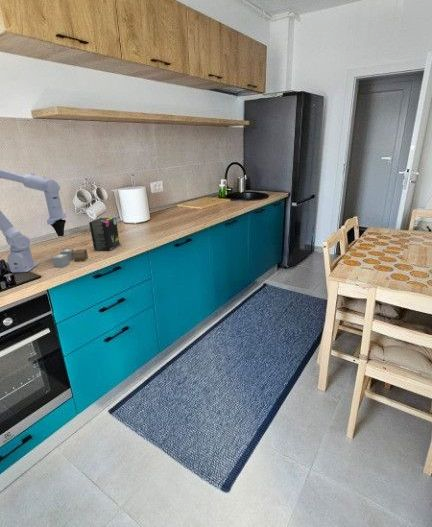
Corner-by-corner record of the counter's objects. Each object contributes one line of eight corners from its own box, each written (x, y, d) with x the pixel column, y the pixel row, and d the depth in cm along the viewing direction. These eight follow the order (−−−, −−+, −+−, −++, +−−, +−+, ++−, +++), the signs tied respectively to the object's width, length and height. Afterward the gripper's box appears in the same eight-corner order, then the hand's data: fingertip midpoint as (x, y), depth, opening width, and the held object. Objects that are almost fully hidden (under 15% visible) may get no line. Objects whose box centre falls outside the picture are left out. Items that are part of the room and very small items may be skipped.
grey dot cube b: (63, 267, 135) (60, 257, 134) (54, 267, 136) (51, 257, 135) (69, 264, 139) (67, 254, 138) (61, 263, 141) (59, 253, 139)
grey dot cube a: (72, 260, 144) (70, 251, 142) (62, 261, 143) (60, 252, 141) (75, 257, 148) (73, 248, 146) (65, 258, 147) (62, 249, 146)
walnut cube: (84, 261, 142) (82, 252, 140) (74, 261, 142) (72, 252, 140) (88, 258, 146) (86, 249, 145) (78, 258, 146) (76, 249, 145)
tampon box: (110, 251, 155) (105, 222, 150) (93, 250, 157) (88, 222, 151) (120, 244, 165) (116, 217, 160) (104, 244, 167) (100, 217, 162)
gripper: (56, 209, 133) (62, 240, 138) (70, 203, 147) (75, 231, 152) (39, 210, 133) (46, 240, 138) (55, 204, 147) (61, 232, 152)
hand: (60, 236), depth 145 cm, fingers closed
